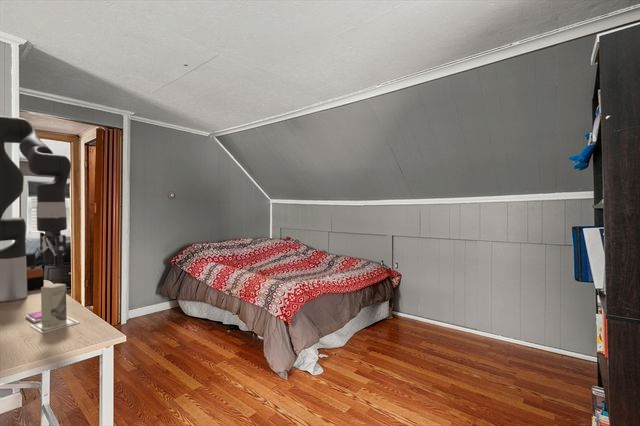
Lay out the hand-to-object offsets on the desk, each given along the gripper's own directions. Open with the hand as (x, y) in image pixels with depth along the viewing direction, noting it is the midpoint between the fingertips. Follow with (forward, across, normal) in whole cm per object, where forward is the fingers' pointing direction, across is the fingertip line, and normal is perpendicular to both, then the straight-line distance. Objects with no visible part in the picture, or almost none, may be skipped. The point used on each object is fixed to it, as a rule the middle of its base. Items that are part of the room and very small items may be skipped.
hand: (53, 265), depth 106 cm
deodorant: (+21, -65, +11) cm, 69 cm away
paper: (+20, 0, 0) cm, 20 cm away
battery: (+20, -57, +10) cm, 61 cm away
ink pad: (+20, -11, 0) cm, 23 cm away
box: (+20, 0, 0) cm, 20 cm away
